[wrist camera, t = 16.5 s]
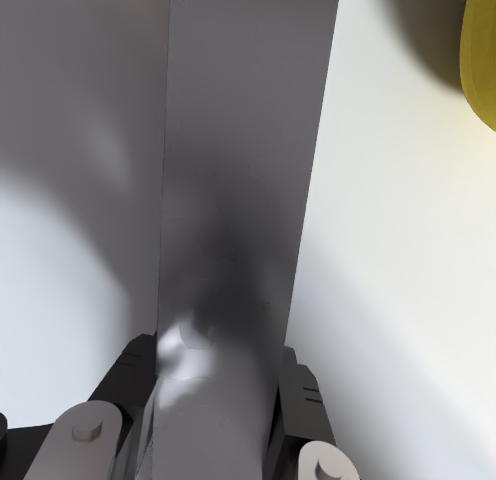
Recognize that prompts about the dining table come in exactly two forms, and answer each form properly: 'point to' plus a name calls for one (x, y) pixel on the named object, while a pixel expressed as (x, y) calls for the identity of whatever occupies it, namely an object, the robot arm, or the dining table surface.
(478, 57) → the lemon
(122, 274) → the dining table surface
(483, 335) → the dining table surface
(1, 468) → the robot arm
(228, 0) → the crook tool
